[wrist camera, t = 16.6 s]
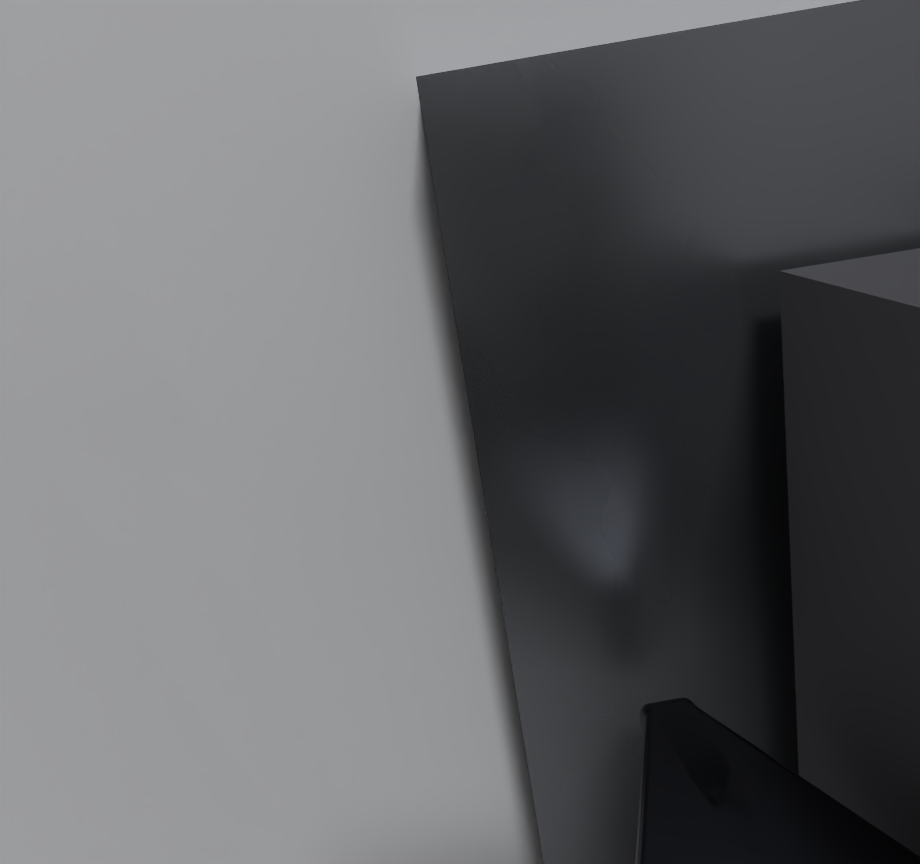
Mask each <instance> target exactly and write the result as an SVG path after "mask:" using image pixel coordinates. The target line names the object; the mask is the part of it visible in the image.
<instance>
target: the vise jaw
mask: <svg viewBox="0 0 920 864" xmlns="http://www.w3.org/2000/svg"><path fill="white" fill-rule="evenodd" d="M779 274H780V300H781V326H782V351H783V377H784V403H785V429H786V455H787V481H788V507H789V533H790V559H791V585H792V611H793V637H794V663H795V688H796V714H797V740H798V766H799V775H800V776H801V777H802V778H804V779H805V780H807V781H808V782H810V783H811V784H813V785H814V786H816V787H817V788H819V789H820V790H822V791H823V792H825V793H826V794H828V795H829V796H831V797H832V798H834V799H835V800H837V801H838V802H840V803H841V804H843V805H844V806H846V807H847V808H849V809H850V810H852V811H853V812H855V813H856V814H858V815H859V816H861V817H862V818H864V819H865V820H866V821H868V822H869V823H871V824H872V825H874V826H875V827H877V828H878V829H880V830H881V831H883V832H884V833H886V834H887V835H889V836H890V837H892V838H893V839H895V840H896V841H898V842H899V843H901V844H902V845H904V846H905V847H907V848H908V849H910V850H911V851H913V852H914V853H916V854H917V855H919V856H920V248H917V249H911V250H905V251H899V252H893V253H887V254H880V255H874V256H868V257H862V258H856V259H850V260H843V261H837V262H831V263H825V264H819V265H812V266H806V267H800V268H794V269H788V270H782V271H779Z"/></svg>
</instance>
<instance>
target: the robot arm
mask: <svg viewBox="0 0 920 864" xmlns="http://www.w3.org/2000/svg"><path fill="white" fill-rule="evenodd" d="M640 725H641V733H642V741H643V757H642V771H641V786H640V801H639V815H638V830H637V844H636V859H635V864H920V856H919V855H917V854H916V853H914V852H913V851H911V850H910V849H908V848H907V847H905V846H904V845H902V844H901V843H899V842H898V841H896V840H895V839H893V838H892V837H890V836H889V835H887V834H886V833H884V832H883V831H881V830H880V829H878V828H877V827H875V826H874V825H872V824H871V823H869V822H868V821H866V820H865V819H864V818H862V817H861V816H859V815H858V814H856V813H855V812H853V811H852V810H850V809H849V808H847V807H846V806H844V805H843V804H841V803H840V802H838V801H837V800H835V799H834V798H832V797H831V796H829V795H828V794H826V793H825V792H823V791H822V790H820V789H819V788H817V787H816V786H814V785H813V784H811V783H810V782H808V781H807V780H805V779H804V778H802V777H801V776H800V775H798V774H797V773H795V772H794V771H792V770H791V769H789V768H788V767H786V766H785V765H783V764H782V763H780V762H779V761H777V760H776V759H774V758H773V757H771V756H770V755H768V754H767V753H765V752H764V751H762V750H761V749H759V748H758V747H756V746H755V745H753V744H752V743H750V742H749V741H747V740H746V739H744V738H743V737H741V736H740V735H738V734H737V733H736V732H734V731H733V730H731V729H730V728H728V727H727V726H725V725H724V724H722V723H721V722H719V721H718V720H716V719H715V718H713V717H712V716H710V715H709V714H707V713H706V712H704V711H703V710H701V709H700V708H698V707H697V706H696V705H695V704H694V703H693V702H692V701H691V700H690V699H688V698H676V699H671V700H665V701H659V702H653V703H648V704H645V705H644V706H643V707H642V708H641V711H640Z"/></svg>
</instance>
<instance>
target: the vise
mask: <svg viewBox="0 0 920 864" xmlns="http://www.w3.org/2000/svg"><path fill="white" fill-rule="evenodd" d="M416 80H417V86H418V92H419V99H420V105H421V111H422V117H423V123H424V129H425V135H426V142H427V148H428V154H429V160H430V166H431V172H432V179H433V185H434V191H435V197H436V203H437V209H438V216H439V222H440V228H441V234H442V240H443V246H444V252H445V259H446V265H447V271H448V277H449V283H450V289H451V296H452V302H453V308H454V314H455V320H456V326H457V333H458V339H459V345H460V351H461V357H462V363H463V370H464V376H465V382H466V388H467V394H468V400H469V406H470V413H471V419H472V425H473V431H474V437H475V443H476V450H477V456H478V462H479V468H480V474H481V480H482V487H483V493H484V499H485V505H486V511H487V517H488V523H489V530H490V536H491V542H492V548H493V554H494V560H495V567H496V573H497V579H498V585H499V591H500V597H501V604H502V610H503V616H504V622H505V628H506V634H507V640H508V647H509V653H510V659H511V665H512V671H513V677H514V684H515V690H516V696H517V702H518V708H519V714H520V721H521V727H522V733H523V739H524V745H525V751H526V758H527V764H528V770H529V776H530V782H531V788H532V794H533V801H534V807H535V813H536V819H537V825H538V831H539V838H540V844H541V850H542V856H543V862H544V864H635V859H636V844H637V830H638V815H639V801H640V786H641V771H642V757H643V741H642V733H641V725H640V711H641V708H642V707H643V706H644V705H645V704H648V703H653V702H659V701H665V700H671V699H676V698H688V699H690V700H691V701H692V702H693V703H694V704H695V705H696V706H697V707H698V708H700V709H701V710H703V711H704V712H706V713H707V714H709V715H710V716H712V717H713V718H715V719H716V720H718V721H719V722H721V723H722V724H724V725H725V726H727V727H728V728H730V729H731V730H733V731H734V732H736V733H737V734H738V735H740V736H741V737H743V738H744V739H746V740H747V741H749V742H750V743H752V744H753V745H755V746H756V747H758V748H759V749H761V750H762V751H764V752H765V753H767V754H768V755H770V756H771V757H773V758H774V759H776V760H777V761H779V762H780V763H782V764H783V765H785V766H786V767H788V768H789V769H791V770H792V771H794V772H795V773H797V774H798V775H799V766H798V740H797V714H796V688H795V663H794V637H793V611H792V585H791V559H790V533H789V507H788V481H787V455H786V429H785V403H784V377H783V351H782V326H781V300H780V274H779V271H782V270H788V269H794V268H800V267H806V266H812V265H819V264H825V263H831V262H837V261H843V260H850V259H856V258H862V257H868V256H874V255H880V254H887V253H893V252H899V251H905V250H911V249H917V248H920V0H859V1H853V2H847V3H841V4H836V5H830V6H824V7H818V8H812V9H807V10H801V11H795V12H789V13H783V14H778V15H772V16H766V17H760V18H754V19H749V20H743V21H737V22H731V23H725V24H720V25H714V26H708V27H702V28H696V29H691V30H685V31H679V32H673V33H667V34H662V35H656V36H650V37H644V38H638V39H633V40H627V41H621V42H615V43H609V44H604V45H598V46H592V47H586V48H580V49H575V50H569V51H563V52H557V53H551V54H546V55H540V56H534V57H528V58H523V59H517V60H511V61H505V62H499V63H494V64H488V65H482V66H476V67H470V68H465V69H459V70H453V71H447V72H441V73H436V74H430V75H424V76H418V77H416Z"/></svg>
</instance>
